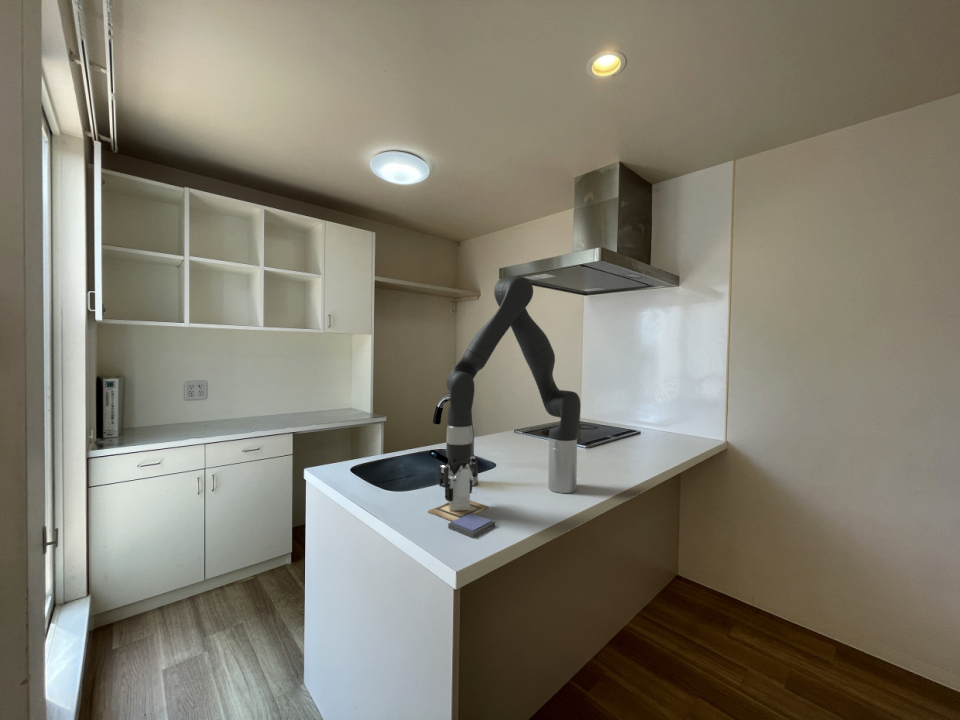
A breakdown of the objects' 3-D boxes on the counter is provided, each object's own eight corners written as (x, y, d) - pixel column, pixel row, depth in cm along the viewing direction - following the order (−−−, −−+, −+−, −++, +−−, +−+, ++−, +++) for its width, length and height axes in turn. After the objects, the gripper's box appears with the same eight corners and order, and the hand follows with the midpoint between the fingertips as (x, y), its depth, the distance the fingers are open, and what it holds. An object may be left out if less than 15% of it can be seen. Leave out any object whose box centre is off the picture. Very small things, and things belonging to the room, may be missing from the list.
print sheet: (460, 498, 122) (460, 496, 122) (488, 507, 115) (488, 505, 115) (427, 512, 111) (427, 510, 111) (456, 523, 104) (456, 521, 104)
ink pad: (470, 517, 108) (470, 511, 108) (495, 525, 103) (495, 520, 103) (448, 528, 101) (448, 522, 101) (472, 538, 96) (473, 532, 96)
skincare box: (469, 505, 116) (469, 464, 115) (470, 511, 111) (470, 468, 111) (448, 505, 115) (448, 464, 115) (448, 511, 111) (448, 469, 110)
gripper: (466, 434, 121) (465, 487, 121) (432, 442, 110) (431, 500, 110) (485, 438, 116) (484, 493, 116) (451, 447, 105) (451, 507, 105)
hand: (458, 496), depth 113 cm, fingers open, 7 cm apart
